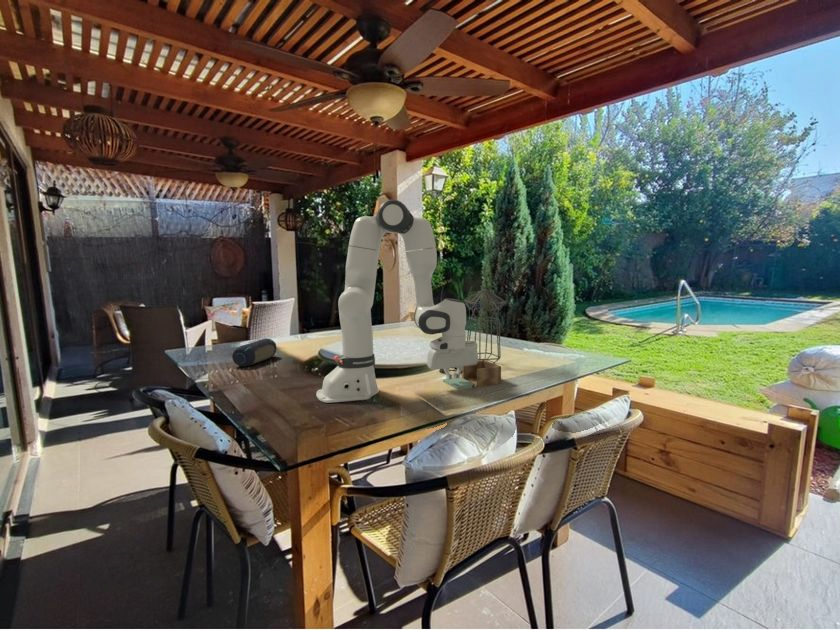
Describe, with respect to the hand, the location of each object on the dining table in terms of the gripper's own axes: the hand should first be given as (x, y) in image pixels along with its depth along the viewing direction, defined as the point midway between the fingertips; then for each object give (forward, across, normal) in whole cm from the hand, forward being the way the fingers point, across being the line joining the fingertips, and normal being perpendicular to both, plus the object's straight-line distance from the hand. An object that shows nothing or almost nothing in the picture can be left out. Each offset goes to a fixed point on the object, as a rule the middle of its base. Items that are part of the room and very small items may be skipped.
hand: (452, 378), depth 161 cm
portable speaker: (+6, +63, -81) cm, 102 cm away
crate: (+4, -12, 0) cm, 13 cm away
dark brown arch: (+4, -10, -17) cm, 20 cm away
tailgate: (+2, -6, 0) cm, 6 cm away
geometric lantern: (+4, -30, -23) cm, 38 cm away
